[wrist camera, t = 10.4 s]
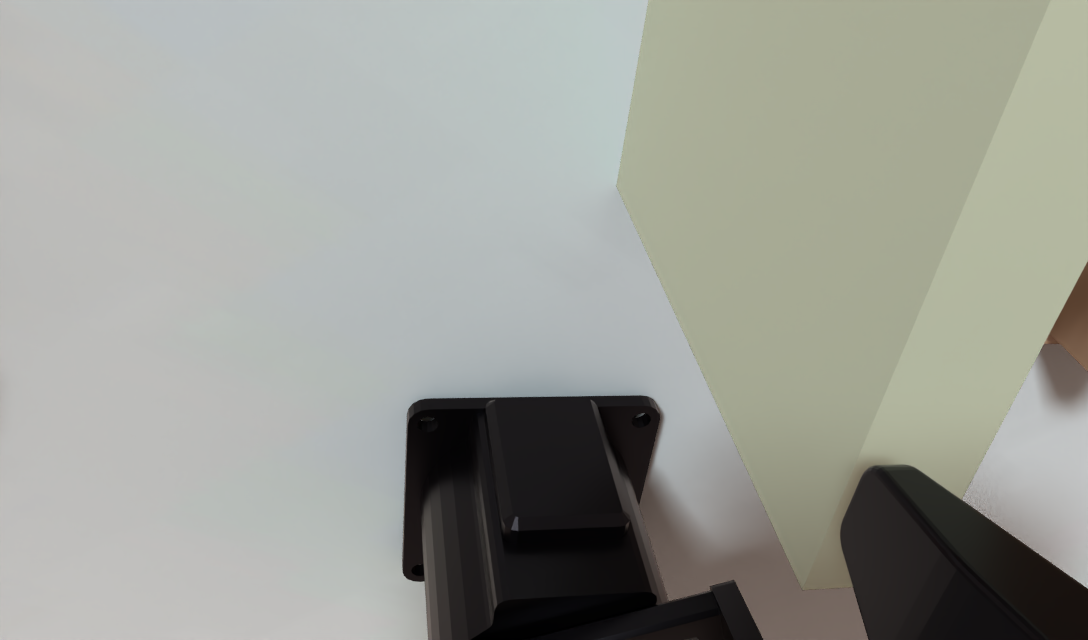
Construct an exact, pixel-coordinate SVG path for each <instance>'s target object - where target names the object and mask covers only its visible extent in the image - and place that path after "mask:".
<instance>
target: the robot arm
mask: <svg viewBox="0 0 1088 640" xmlns="http://www.w3.org/2000/svg"><path fill="white" fill-rule="evenodd" d="M640 413H645V414H644V415H643V416H641V417H637V418H635V417H634V416H636V415H637V414H640ZM425 417H432V418H435V419H433V420H432V421H427V422H426V421H421V419H422V418H425ZM659 421H660V414H659V411H658V409H657V406H656V404H655V402H654V401H653V399H651V398H649V397H647V396H582V397H512V398H443V399H423V400H419V401H417V402H415V403H413V404H412V405H411V406H410V408H409V409H408V413H407V430H406V460H405V491H404V521H403V552H402V567H403V574H404V576H405V577H406V578H407V579H409V580H412V581H419V582H422V581H425V594H426V611H427V628H428V640H763V638H762V636H761V634H760V632H759V630H758V628H757V626H756V624H755V622H754V620H753V618H752V616H751V614H750V611H749V609H748V607H747V605H746V603H745V601H744V599H743V597H742V595H741V593H740V591H739V589H738V587H737V585H736V583H735V581H734V580H732V581H728V582H724V583H720V584H717V585H713V586H710V591H707V592H703V593H699V594H695V595H691V596H687V597H684V598H680V599H676V600H672V601H669V600H668V597H667V594H666V591H665V588H664V584H663V581H662V578H661V575H660V572H659V569H658V565H657V562H656V559H655V556H654V553H653V549H652V546H651V543H650V540H649V537H648V534H647V530H646V527H645V524H644V521H643V518H642V514H641V511H640V508H639V503H640V499H641V495H642V491H643V487H644V483H645V479H646V474H647V470H648V466H649V462H650V458H651V454H652V450H653V446H654V442H655V437H656V433H657V429H658V425H659ZM840 541H841V547H842V551H843V555H844V558H845V561H846V565H847V568H848V572H849V575H850V578H851V582H852V585H853V588H854V592H855V595H856V599H857V602H858V605H859V609H860V612H861V616H862V619H863V622H864V626H865V629H866V632H867V636H868V639H869V640H1088V589H1087V588H1086V587H1084V586H1083V585H1082V584H1080V583H1079V582H1077V581H1076V580H1075V579H1073V578H1072V577H1070V576H1069V575H1067V574H1066V573H1065V572H1063V571H1062V570H1060V569H1059V568H1058V567H1056V566H1055V565H1053V564H1052V563H1050V562H1049V561H1048V560H1046V559H1045V558H1043V557H1042V556H1041V555H1039V554H1038V553H1036V552H1035V551H1033V550H1032V549H1031V548H1029V547H1028V546H1026V545H1025V544H1024V543H1022V542H1021V541H1019V540H1018V539H1016V538H1015V537H1014V536H1012V535H1011V534H1009V533H1008V532H1006V531H1005V530H1004V529H1002V528H1001V527H999V526H998V525H997V524H995V523H994V522H992V521H991V520H989V519H988V518H987V517H985V516H984V515H982V514H981V513H980V512H978V511H977V510H975V509H974V508H972V507H971V506H970V505H968V504H967V503H965V502H964V501H963V500H961V499H960V498H958V497H957V496H955V495H954V494H953V493H951V492H950V491H948V490H947V489H946V488H944V487H943V486H941V485H940V484H938V483H937V482H936V481H934V480H933V479H931V478H930V477H929V476H927V475H926V474H924V473H923V472H921V471H920V470H918V469H917V468H915V467H913V466H911V465H905V464H897V465H874V466H870V467H869V468H868V469H867V470H866V471H864V473H863V474H862V476H861V478H860V481H859V483H858V485H857V488H856V490H855V492H854V495H853V497H852V499H851V502H850V504H849V506H848V508H847V511H846V513H845V515H844V518H843V520H842V523H841V529H840ZM419 564H421V565H419Z"/></svg>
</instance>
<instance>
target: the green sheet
mask: <svg viewBox="0 0 1088 640" xmlns="http://www.w3.org/2000/svg"><path fill="white" fill-rule="evenodd" d="M616 187H617V189H618V191H619V193H620V195H621V197H622V200H623V202H624V204H625V206H626V208H627V210H628V213H629V215H630V217H631V219H632V221H633V224H634V226H635V228H636V230H637V232H638V234H639V237H640V239H641V241H642V243H643V245H644V247H645V250H646V252H647V254H648V256H649V258H650V260H651V263H652V265H653V267H654V269H655V271H656V274H657V276H658V278H659V280H660V282H661V284H662V287H663V289H664V291H665V293H666V295H667V297H668V300H669V302H670V304H671V306H672V308H673V310H674V313H675V315H676V317H677V319H678V321H679V323H680V326H681V328H682V330H683V332H684V334H685V337H686V339H687V341H688V343H689V345H690V347H691V350H692V352H693V354H694V356H695V358H696V360H697V363H698V365H699V367H700V369H701V371H702V373H703V376H704V378H705V380H706V382H707V384H708V387H709V389H710V391H711V393H712V395H713V397H714V400H715V402H716V404H717V406H718V408H719V410H720V413H721V415H722V417H723V419H724V421H725V423H726V426H727V428H728V430H729V432H730V434H731V437H732V439H733V441H734V443H735V445H736V447H737V450H738V452H739V454H740V456H741V458H742V460H743V463H744V465H745V467H746V469H747V471H748V473H749V476H750V478H751V480H752V482H753V484H754V487H755V489H756V491H757V493H758V495H759V497H760V500H761V502H762V504H763V506H764V508H765V510H766V513H767V515H768V517H769V519H770V521H771V523H772V526H773V528H774V530H775V532H776V534H777V537H778V539H779V541H780V543H781V545H782V547H783V550H784V552H785V554H786V556H787V558H788V560H789V563H790V565H791V567H792V569H793V571H794V573H795V576H796V578H797V580H798V582H799V584H800V587H801V589H802V590H816V589H833V588H850V587H853V585H852V582H851V578H850V575H849V572H848V568H847V565H846V561H845V558H844V555H843V551H842V547H841V541H840V529H841V523H842V520H843V518H844V515H845V513H846V511H847V508H848V506H849V504H850V502H851V499H852V497H853V495H854V492H855V490H856V488H857V485H858V483H859V481H860V478H861V476H862V474H863V473H864V471H866V470H867V469H868V468H869V467H870V466H874V465H897V464H905V465H911V466H913V467H915V468H917V469H918V470H920V471H921V472H923V473H924V474H926V475H927V476H929V477H930V478H931V479H933V480H934V481H936V482H937V483H938V484H940V485H941V486H943V487H944V488H946V489H947V490H948V491H950V492H951V493H953V494H954V495H955V496H957V497H958V498H960V499H961V500H962V498H963V496H964V494H965V492H966V490H967V488H968V486H969V484H970V483H971V481H972V479H973V477H974V475H975V473H976V471H977V469H978V467H979V466H980V464H981V462H982V460H983V458H984V456H985V454H986V452H987V450H988V449H989V447H990V445H991V443H992V441H993V439H994V437H995V435H996V433H997V432H998V430H999V428H1000V426H1001V424H1002V422H1003V420H1004V418H1005V416H1006V415H1007V413H1008V411H1009V409H1010V407H1011V405H1012V403H1013V401H1014V399H1015V398H1016V396H1017V394H1018V392H1019V390H1020V388H1021V386H1022V384H1023V382H1024V381H1025V379H1026V377H1027V375H1028V373H1029V371H1030V369H1031V367H1032V365H1033V363H1034V362H1035V360H1036V358H1037V356H1038V354H1039V352H1040V350H1041V348H1042V346H1043V345H1044V343H1045V341H1046V339H1047V337H1048V335H1049V333H1050V331H1051V329H1052V328H1053V326H1054V324H1055V322H1056V320H1057V318H1058V316H1059V314H1060V312H1061V311H1062V309H1063V307H1064V305H1065V303H1066V301H1067V299H1068V297H1069V295H1070V294H1071V292H1072V290H1073V288H1074V286H1075V284H1076V282H1077V280H1078V278H1079V277H1080V275H1081V273H1082V271H1083V269H1084V267H1085V265H1086V263H1087V261H1088V0H648V6H647V12H646V18H645V24H644V29H643V35H642V41H641V47H640V52H639V58H638V64H637V70H636V76H635V81H634V87H633V93H632V99H631V104H630V110H629V116H628V122H627V128H626V133H625V139H624V145H623V151H622V156H621V162H620V168H619V174H618V180H617V185H616Z"/></svg>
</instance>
